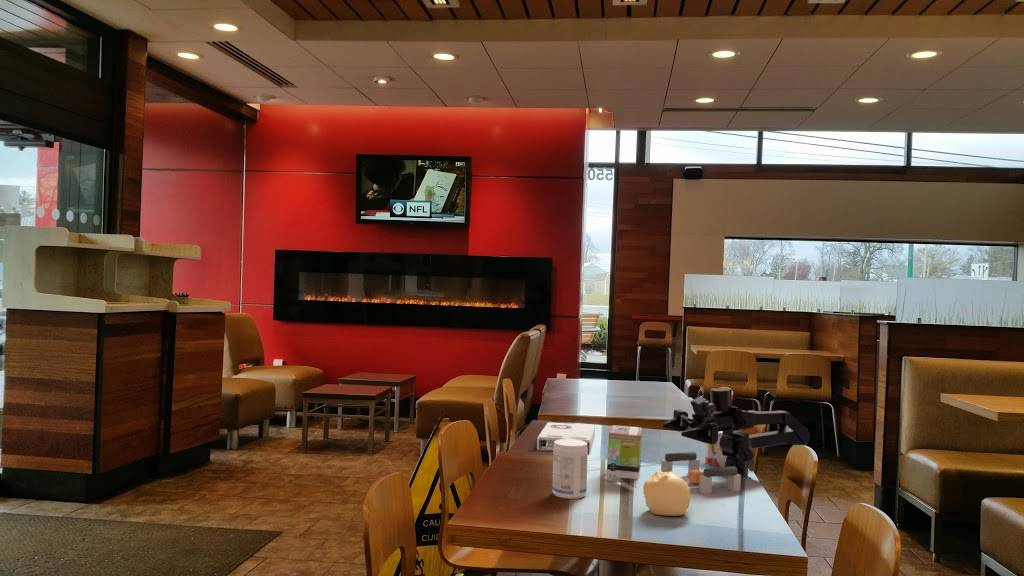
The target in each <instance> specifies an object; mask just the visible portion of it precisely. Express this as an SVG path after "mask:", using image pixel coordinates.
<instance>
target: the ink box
mask: <svg viewBox="0 0 1024 576" xmlns="http://www.w3.org/2000/svg"><path fill="white" fill-rule="evenodd" d="M722 435H723V431H720V432H718V441H717V443H716V444H712V445H710V444H708V443H705V460H704V462H705V464H706V465H712V466H715V467H716V468H719V467H725V462H726V457H727V456H723V454H722V451H721V448H720V445H719V442H720V438H721V437H722Z"/></svg>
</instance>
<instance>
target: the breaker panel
mask: <svg viewBox="0 0 1024 576" xmlns="http://www.w3.org/2000/svg"><path fill="white" fill-rule="evenodd" d="M680 477H681V476H680ZM681 478H682V479H683V480H684V481H685V482H686V483H687V485H688V487H689V490H690V491H699V483H693V482H691V481H689V476H685V477H684V476H682V477H681ZM724 488H726V489H727V486H725V485H723V484H720V483H718V482H715V481H713V480H712V489H724Z"/></svg>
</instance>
